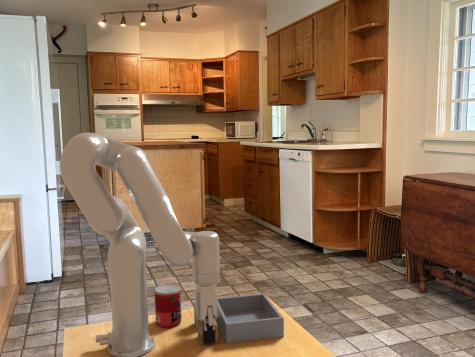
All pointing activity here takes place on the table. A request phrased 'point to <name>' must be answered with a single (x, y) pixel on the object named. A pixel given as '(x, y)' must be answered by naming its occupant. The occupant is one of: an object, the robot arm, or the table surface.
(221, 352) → the table surface
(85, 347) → the table surface
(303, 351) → the table surface
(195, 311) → the cylinder
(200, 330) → the cube
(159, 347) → the table surface
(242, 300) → the tote
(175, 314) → the canned food
